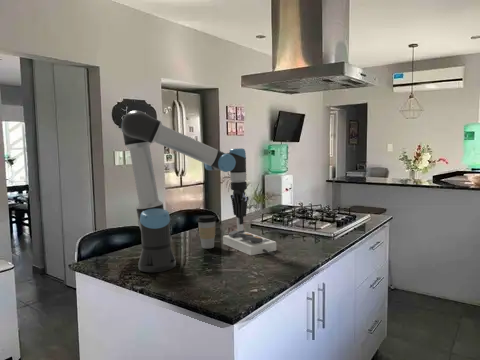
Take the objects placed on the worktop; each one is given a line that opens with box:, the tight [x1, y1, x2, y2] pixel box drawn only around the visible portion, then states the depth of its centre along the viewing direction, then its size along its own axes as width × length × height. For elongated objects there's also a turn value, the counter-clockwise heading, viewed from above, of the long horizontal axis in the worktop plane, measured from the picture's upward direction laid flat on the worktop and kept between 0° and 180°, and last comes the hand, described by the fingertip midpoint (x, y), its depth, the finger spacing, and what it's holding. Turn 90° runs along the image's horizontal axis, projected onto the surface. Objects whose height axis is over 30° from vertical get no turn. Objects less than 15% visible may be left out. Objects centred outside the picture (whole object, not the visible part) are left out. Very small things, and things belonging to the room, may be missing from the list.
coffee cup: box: [197, 214, 217, 250], centre depth 190 cm, size 9×9×15 cm
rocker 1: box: [227, 229, 246, 237], centre depth 194 cm, size 7×4×2 cm, turn 121°
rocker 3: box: [245, 236, 263, 242], centre depth 180 cm, size 7×4×2 cm, turn 121°
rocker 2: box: [236, 233, 253, 238], centre depth 187 cm, size 7×4×2 cm, turn 121°
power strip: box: [222, 231, 277, 256], centre depth 185 cm, size 14×34×5 cm, turn 31°
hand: (240, 230), depth 185 cm, fingers closed
